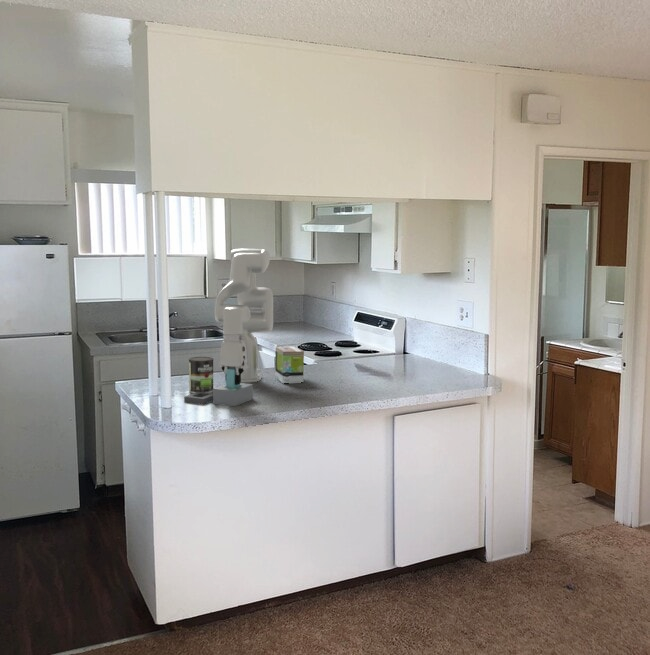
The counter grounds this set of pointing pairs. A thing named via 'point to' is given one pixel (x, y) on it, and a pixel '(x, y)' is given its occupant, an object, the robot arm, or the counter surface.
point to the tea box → (289, 364)
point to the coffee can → (200, 374)
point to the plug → (231, 378)
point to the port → (232, 394)
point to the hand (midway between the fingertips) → (233, 383)
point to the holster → (199, 398)
